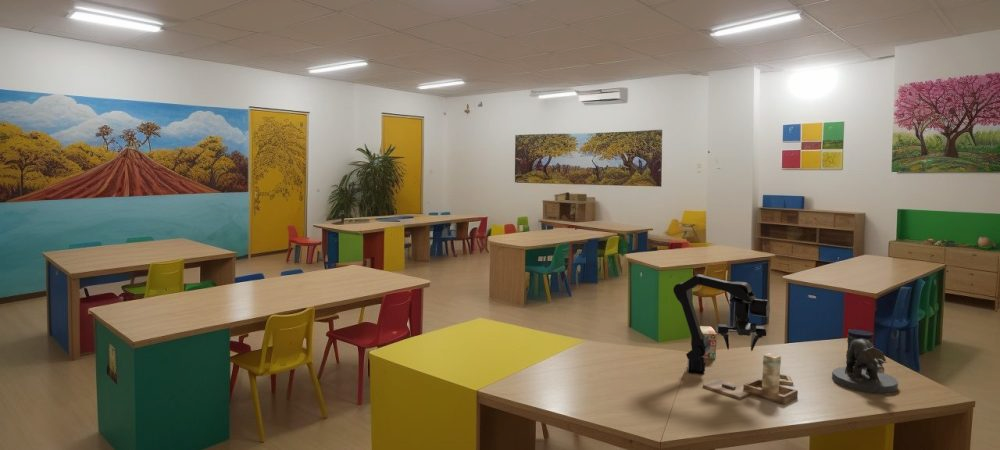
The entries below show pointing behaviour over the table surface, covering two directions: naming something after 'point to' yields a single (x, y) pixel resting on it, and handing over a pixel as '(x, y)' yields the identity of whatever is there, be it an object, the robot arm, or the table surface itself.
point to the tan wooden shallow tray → (781, 398)
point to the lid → (727, 388)
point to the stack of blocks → (712, 339)
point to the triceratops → (865, 370)
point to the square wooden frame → (788, 381)
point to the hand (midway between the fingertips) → (739, 350)
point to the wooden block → (771, 373)
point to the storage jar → (858, 337)
